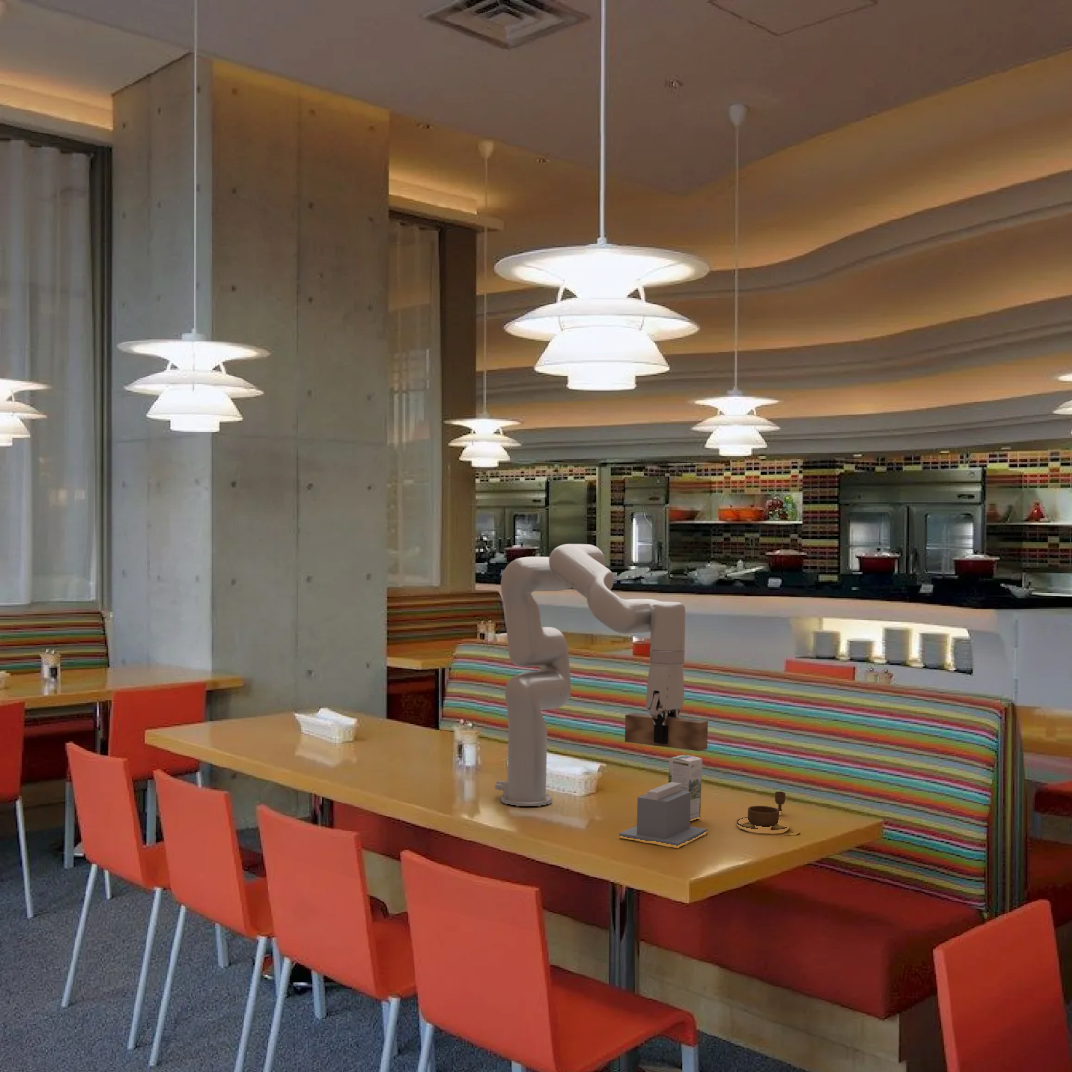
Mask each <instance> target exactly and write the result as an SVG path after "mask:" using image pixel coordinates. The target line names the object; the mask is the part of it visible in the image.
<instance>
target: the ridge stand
mask: <svg viewBox="0 0 1072 1072" xmlns="http://www.w3.org/2000/svg"><path fill="white" fill-rule="evenodd" d="M690 795H691V792H688V791H681V783H675V782H670V783H668V782H667V783H665V784H663V785H660V786H657V787H655V788H652V789H650V790H647V791H646V793H644V794H643V795H640V796H637V800H636V801H637V803H636V805H637V806H636V812H637V813H636V814H637V815H636V825H635V826H633V827H631V828H628V829H626V830H623V831H621V832H619V834H618V837H619V836H623V837H627V838H633V839H640V840H645V841H656V842H661V843H666V844H671V845H676V846H678V845H680V844H682V843H685V842H686V841H690V840H692V839H693V838H696V837H698V836H699V835H701V834H703V833H704V832H706V831H707V832H708V828H703V827H697V826H691V822H690Z"/></svg>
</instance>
